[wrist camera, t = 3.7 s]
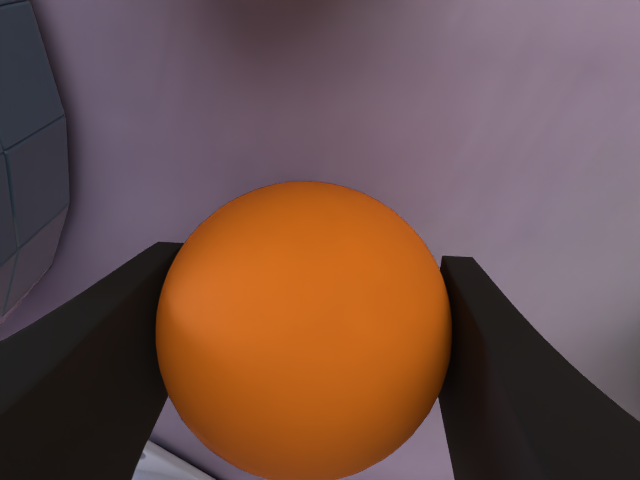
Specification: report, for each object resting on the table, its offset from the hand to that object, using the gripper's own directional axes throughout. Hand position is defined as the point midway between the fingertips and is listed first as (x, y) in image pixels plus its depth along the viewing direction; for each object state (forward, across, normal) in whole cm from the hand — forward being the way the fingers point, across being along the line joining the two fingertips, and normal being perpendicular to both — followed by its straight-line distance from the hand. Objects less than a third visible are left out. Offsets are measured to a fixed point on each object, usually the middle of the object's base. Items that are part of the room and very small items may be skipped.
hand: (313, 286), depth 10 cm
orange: (-1, 0, 0) cm, 1 cm away
